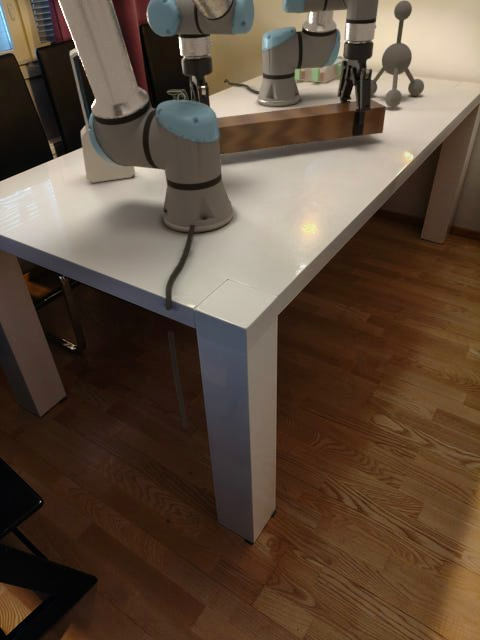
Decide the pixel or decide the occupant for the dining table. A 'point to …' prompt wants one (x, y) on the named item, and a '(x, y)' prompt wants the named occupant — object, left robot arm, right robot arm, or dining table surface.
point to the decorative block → (320, 72)
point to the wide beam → (295, 126)
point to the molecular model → (398, 61)
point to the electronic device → (93, 162)
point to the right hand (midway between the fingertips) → (350, 129)
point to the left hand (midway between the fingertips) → (204, 149)
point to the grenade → (178, 94)
